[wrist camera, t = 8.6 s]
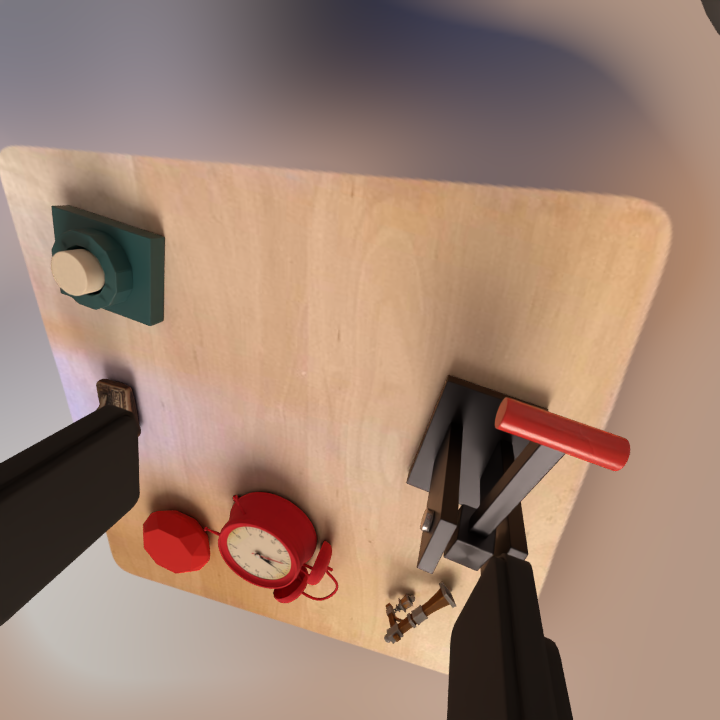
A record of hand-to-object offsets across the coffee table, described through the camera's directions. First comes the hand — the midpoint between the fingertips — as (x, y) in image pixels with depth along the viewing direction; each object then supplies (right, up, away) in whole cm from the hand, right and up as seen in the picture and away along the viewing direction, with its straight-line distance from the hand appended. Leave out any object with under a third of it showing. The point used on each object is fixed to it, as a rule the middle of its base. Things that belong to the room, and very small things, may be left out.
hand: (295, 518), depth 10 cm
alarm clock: (-7, -16, +34) cm, 38 cm away
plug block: (-21, +13, +26) cm, 36 cm away
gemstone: (-20, -18, +39) cm, 47 cm away
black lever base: (+11, -3, +23) cm, 26 cm away
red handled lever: (+10, -3, +12) cm, 15 cm away
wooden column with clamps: (+8, -21, +32) cm, 39 cm away
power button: (-22, +12, +23) cm, 34 cm away
